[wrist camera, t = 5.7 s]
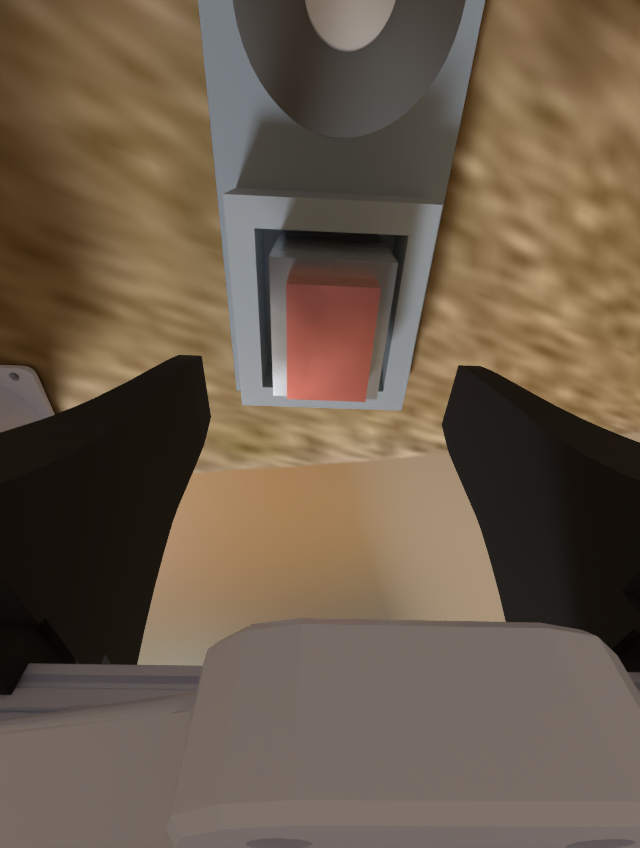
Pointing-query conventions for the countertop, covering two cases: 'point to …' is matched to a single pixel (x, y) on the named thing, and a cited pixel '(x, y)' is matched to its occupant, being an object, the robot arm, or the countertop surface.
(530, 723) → the robot arm
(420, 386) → the countertop surface
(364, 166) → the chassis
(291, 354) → the red and grey block
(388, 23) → the wheel
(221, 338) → the countertop surface
